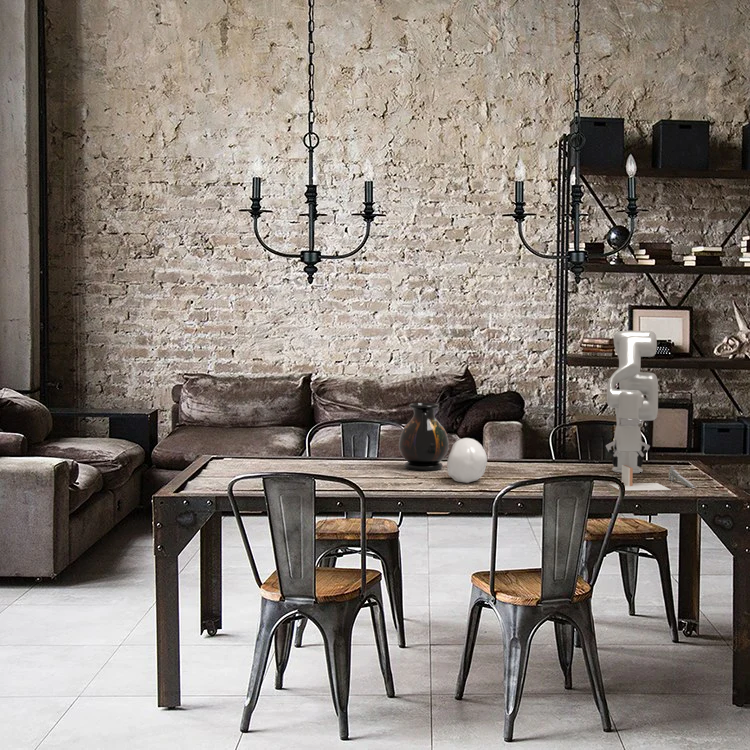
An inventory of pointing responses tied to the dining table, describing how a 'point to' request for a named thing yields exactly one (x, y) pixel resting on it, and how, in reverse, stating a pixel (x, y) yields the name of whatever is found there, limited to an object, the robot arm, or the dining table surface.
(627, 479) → the tile
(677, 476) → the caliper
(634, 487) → the mat
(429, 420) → the black vase
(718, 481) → the dining table surface
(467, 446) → the white egg
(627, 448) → the robot arm
